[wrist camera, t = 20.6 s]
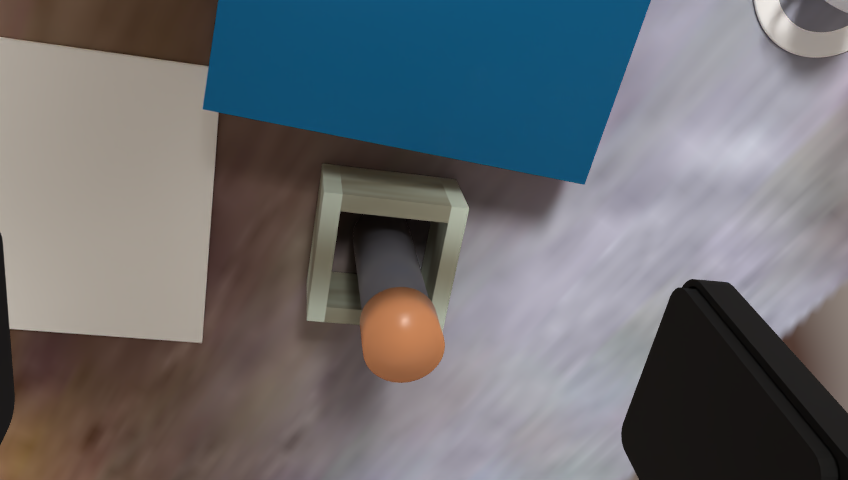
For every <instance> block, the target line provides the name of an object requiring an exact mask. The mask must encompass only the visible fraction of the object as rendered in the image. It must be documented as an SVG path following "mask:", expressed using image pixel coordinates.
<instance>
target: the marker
mask: <svg viewBox="0 0 848 480" xmlns="http://www.w3.org/2000/svg"><path fill="white" fill-rule="evenodd" d="M353 245H354V253H355V261H356V269H357V277H358V284H359V292H360V300H361V308H362V312H361V316H360V331H361V340H362V348H363V356H364V360H365V362H366V364H367V366H368V368H369V369H370V370H371V371H372V372H373V373H374V374H375V375H377V376H378V377H380V378H382V379H384V380H387V381H391V382H399V383H403V382H411V381H415V380H418V379H420V378H422V377H424V376H426V375H428V374H429V373H430V372H432V371H433V370H434V369H435V368H436V366H437V365H438V364H439V362H440V361H441V359H442V357H443V353H444V348H445V342H444V337H443V334H442V330H441V327H440V323H439V320H438V316H437V313H436V309H435V307H434V305H433V303H432V301H431V300H430V299H429V298H428V294H427V291H426V287H425V284H424V280H423V276H422V273H421V269H420V266H419V262H418V258H417V255H416V251H415V248H414V244H413V241H412V237H411V233H410V230H409V226H408V224H407V222H406V220H405V219H404V218H397V217H388V216H378V215H369V214H364V215H363V216H361V217H360V218H359V219H358V221H357V222H356V224H355V226H354V229H353Z"/></svg>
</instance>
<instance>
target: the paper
mask: <svg viewBox="0 0 848 480" xmlns="http://www.w3.org/2000/svg"><path fill="white" fill-rule="evenodd" d="M208 68H209V66H205V65H197V64H190V63H183V62H176V61H169V60H162V59H155V58H147V57H140V56H133V55H126V54H119V53H112V52H105V51H97V50H90V49H83V48H76V47H69V46H62V45H55V44H47V43H40V42H33V41H26V40H19V39H12V38H4V37H0V233H1V235H2V240H3V251H4V264H5V277H6V290H7V303H8V316H9V329H18V330H32V331H46V332H59V333H73V334H87V335H101V336H114V337H128V338H142V339H155V340H169V341H183V342H196V343H202V340H203V326H204V312H205V298H206V284H207V270H208V256H209V242H210V228H211V214H212V200H213V186H214V172H215V158H216V144H217V130H218V116H219V112H214V111H209V110H204V109H203V102H204V96H205V89H206V82H207V75H208Z"/></svg>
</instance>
